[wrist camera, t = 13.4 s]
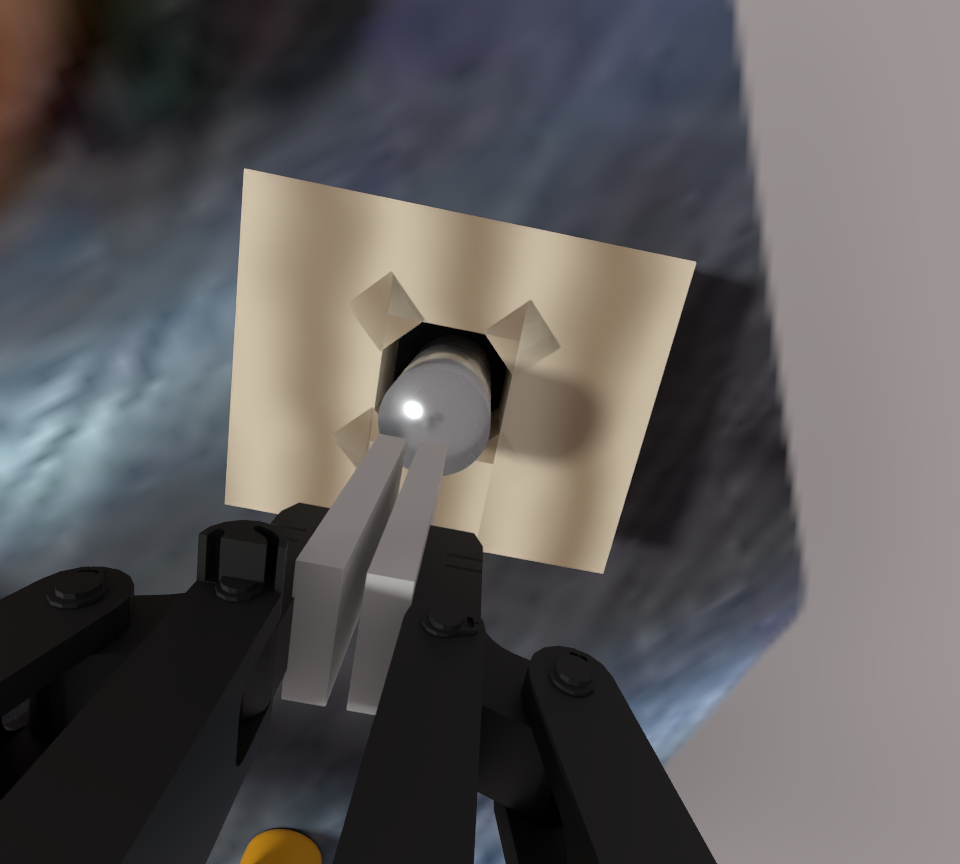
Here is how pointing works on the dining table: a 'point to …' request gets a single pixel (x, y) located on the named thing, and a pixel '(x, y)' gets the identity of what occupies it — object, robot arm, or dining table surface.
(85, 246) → the dining table surface
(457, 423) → the grey metal peg
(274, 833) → the orange post with rings
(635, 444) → the jig
